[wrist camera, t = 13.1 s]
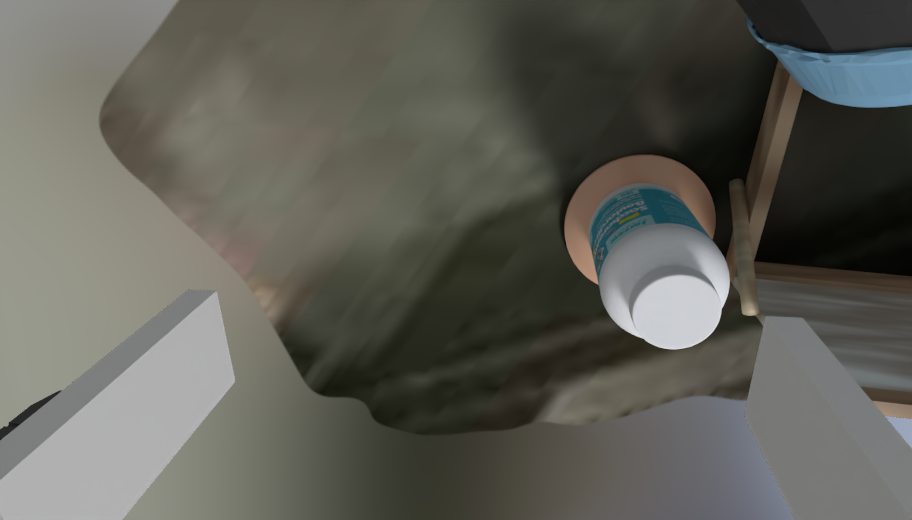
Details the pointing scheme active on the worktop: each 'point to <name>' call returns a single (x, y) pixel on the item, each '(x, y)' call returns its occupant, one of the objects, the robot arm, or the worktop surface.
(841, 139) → the worktop surface
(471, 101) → the worktop surface
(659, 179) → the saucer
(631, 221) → the pill bottle
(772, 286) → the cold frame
